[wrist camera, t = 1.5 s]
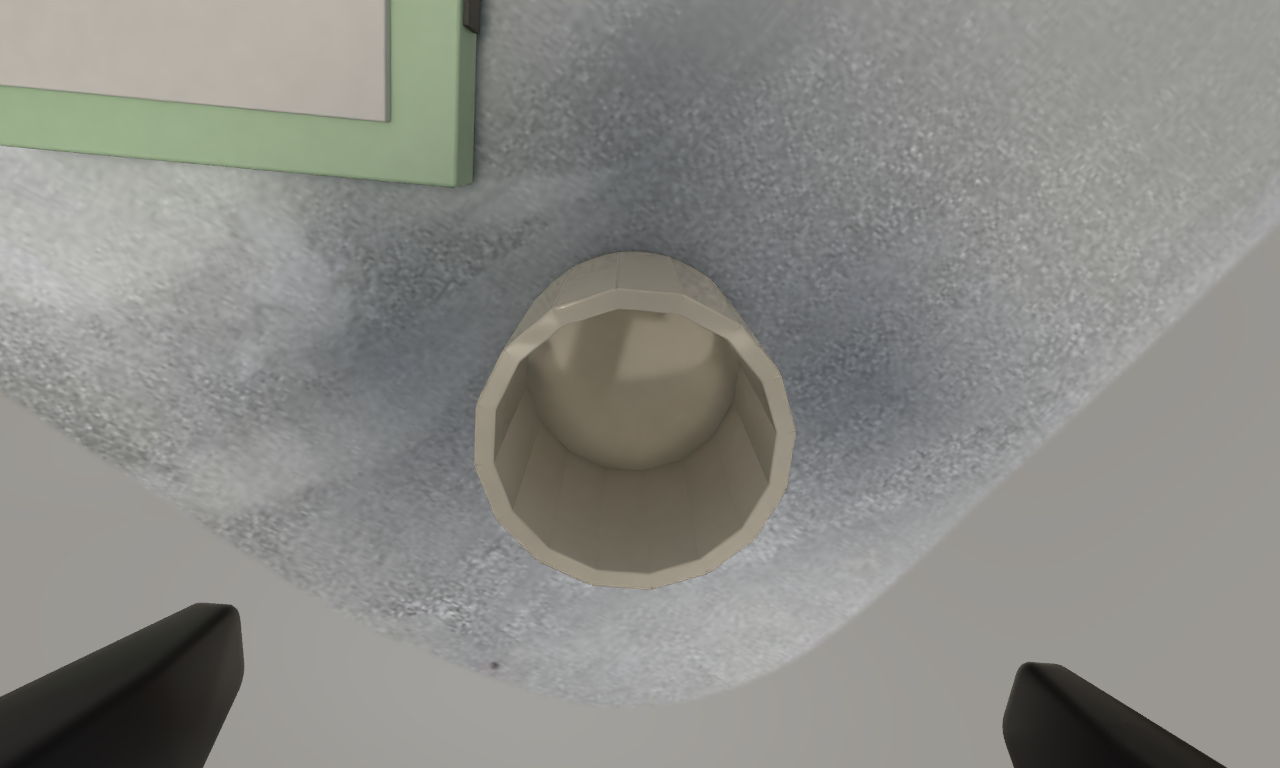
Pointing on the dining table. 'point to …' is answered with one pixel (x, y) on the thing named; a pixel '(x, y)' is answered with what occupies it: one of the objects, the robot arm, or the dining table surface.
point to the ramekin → (633, 425)
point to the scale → (248, 83)
